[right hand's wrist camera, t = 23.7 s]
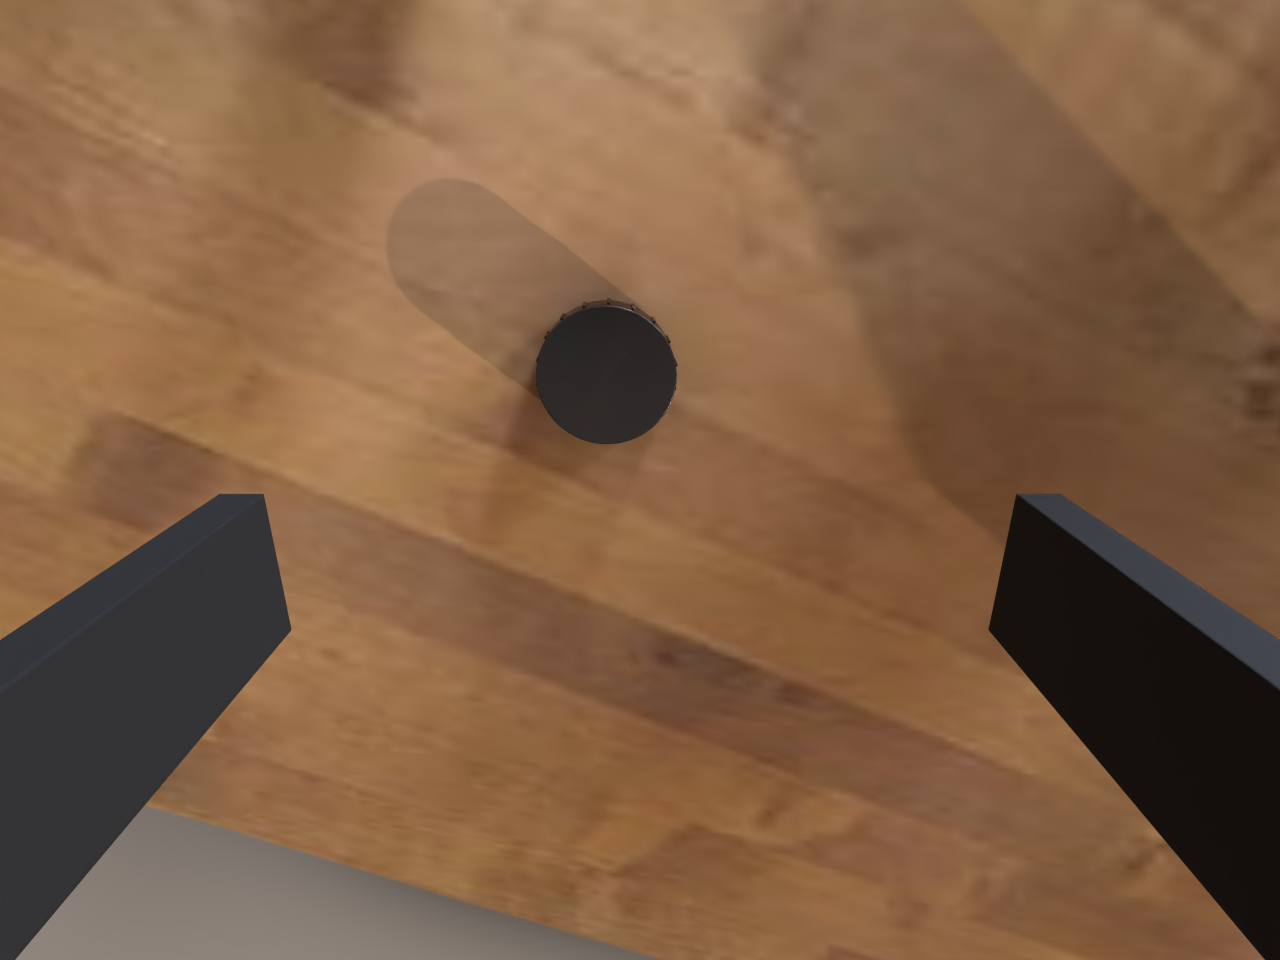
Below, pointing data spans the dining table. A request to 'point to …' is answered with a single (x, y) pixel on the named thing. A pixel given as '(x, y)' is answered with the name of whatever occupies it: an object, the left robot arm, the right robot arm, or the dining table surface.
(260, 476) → the dining table surface
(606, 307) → the lid
